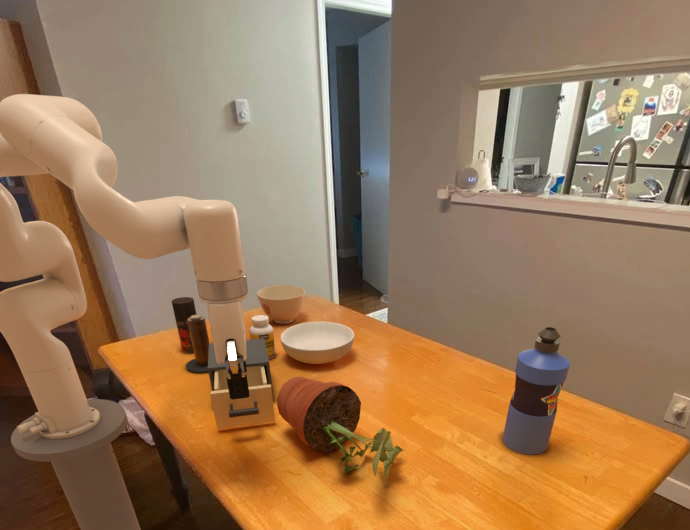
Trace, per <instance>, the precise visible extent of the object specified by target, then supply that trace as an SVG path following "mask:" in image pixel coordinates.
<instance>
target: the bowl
mask: <svg viewBox="0 0 690 530" xmlns="http://www.w3.org/2000/svg"><path fill="white" fill-rule="evenodd" d="M256 295H257V299H258V301H259V305H260V307H261V310H262V312H263V313H264V315H266V316H268V317H269V318H270V319H272V320H273V322H274V323H276V324H278V325H280V324H281V325H286V324H291V323H292V322H293V321H294V319H295V318H296V317H297V316H298V315H299V314H300V313H301V312H302V310H303V307H304V303H305V296H306V290H305V289H304V288H303V287H301V286H297V285H289V284H282V285H281V284H280V285H272V286H266V287H263V288H261V289H259V290H258V291H256Z"/></svg>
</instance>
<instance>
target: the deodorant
mask: <svg viewBox="0 0 690 530" xmlns="http://www.w3.org/2000/svg"><path fill="white" fill-rule="evenodd" d="M171 305H172V310H173V313H174V314H173V315H174V319H175V323H176V329H177V333H178V338H179V343H180V347H181V351H182V353H184V354H190V355H191V354H194V350H193V345H192V340H191V335H190V330H189V325H188V321H187V319H188V318H190V317H191V316H193V315H198V314H197V310H196V305H195V299H194V298H193V297H190V296H181V297H177V298H174V299H172V300H171Z"/></svg>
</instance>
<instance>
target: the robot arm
mask: <svg viewBox="0 0 690 530" xmlns="http://www.w3.org/2000/svg"><path fill="white" fill-rule="evenodd" d="M101 128H102V127H101V125H100V123H99V121H98V119H97V117H96V116H95V114H94V113H93V112H92V111H91V110H90V109H89V108H88V107H87V106H86V105H85V104H83V103H82V102H80V101H79V100H77V99H74V98H72V97H67V96H60V95H45V94H44V95H43V94H32V93H31V94H30V93H18V94H17V93H15V94H12V95H9V96H7V97H5V98H3V99H2V100H1V101H0V178H5V177H23V176H33V175H34V176H36V175H38V176H39V175H45V174H49V175H51V176H53V177H54V178H55V179H57V180H58V181H60V182H61V183H62V184H64V185H65V186H67V187H68V188H69V189H71V190H72V191H73V194H74V199H75V202H76V205H77V206H78V208H79V210H80V212H81V214H82V216H83V218H84V219H85V221H86V223H88V225H89V227H91V228H92V229H93V230H94V232H96V233H97V234H98V235H100V236H101V237H102V238H104V239H105V240H107V241H108V242H109V243H111V244H112V245H114V246H115V247H117V248H118V249H119V250H122V251H123V252H124V253H126V254H129V255H131V256H132V257H135V258H138V259H141V260H142V259H143V260H153V259H157V258H160V257H163V256H168V255H170V254H173V253H177V252H181V251H185V250H187V249H189V251H190V256H191V260H192V261H191V263H192V266H193V271H194V276H195V281H196V282H195V283H196V287H197V292H198V297H199V300H200V302H202V303H204V304H207V312H208V319H209V320H208V321H209V326H210V333H211V338H212V343H213V344H214V350H215V356H216V362H217V363H218V364H221V363H224V361H225V363H226V370H227V377H226V379H227V384H228V390H229V395H230V399H232V400H233V399H241V398H248V397H249V396H250V394H249V388H248V381H247V375H245V373H246V372H247V368H246V362H245V360H246V359H247V354H246V340H247V335H246V334H247V333H246V321H245V315H244V308H243V300H245V299H248V297H249V296H250V295H249V288H248V280H247V274H246V273H247V272H246V265H245V259H244V253H243V251H244V250H243V244H242V237H241V230H240V221H239V215H238V211H237V208H236V206H235V205H234V204H233V202H231V201H228V200H224V199H223V200H222V199H202V200H201V199H197V198H193V197H189V196H183V195H174V196H173V195H172V196H167V197H160V198H154V199H145V200H140V201H136V202H134V201H132V200H130V199H128V198H127V197H125V196H124V195H122V194H121V193H120V192H118V191H117V190H115V189H114V188H113V187H114V185H115V183H116V181H117V177H118V172H119V171H118V169H119V166H118V160H117V157H116V154H115V153H114V151H113V149H111V148H110V147H109V145H108V144H106V143H104V142H103V132H102V129H101ZM41 275H42V279H39V280H38V279H37V280H35V281H31V282H27V283H22V284H20V285H16V286H13V287H9V288H6V289H3V290H1V291H0V333H1V335H2V336H3V338H4V339H5V341H6V342H7V344H8V346H9V348H10V350H11V352H12V354H13V356H14V359H15V360H16V363H17V364H18V367H19V369H20V371H21V374H22V376H23V379H24V381H25V383H26V386H27V388H28V391H29V392H30V395H31V397H32V400H33V402H34V404H35V407H36V409H37V411H36V412H34V415H36V418H33V419H32V421H30V422H28V423H24V424H22V425H20V424H18V425H17V426H16V428H17V429H18V430H19V432H20V433H21V434H24V433H26V432H29V431H30V432H31V434H35V433H37V432H39V434H40V435H41V436H42V437H44V438H48V439H64V438H70V437H73V436H77V435H80V434H82V433H85V432H87V431H89V430H90V429H92V428H93V427H95V426H96V425H97V424H98V423H99V421H100V419H101V416H100V413H99V411H98V410H97V409H95V408H92V407H89V404H88V402H87V399H88V398H87V396H86V393H85V391H84V388H83V385H82V382H81V380H80V377H79V374H78V372H77V368H76V366H75V363H74V360H73V358H72V354H71V352H70V349H69V347H68V345H66V344H65V343H64V341H62V340H60V339H59V338H57V337H56V336H54V335H53V334H52V332H51V331H52V330H54V329H57V328H58V327H61V326H63V325H66V324H68V323H72V322H74V321H76V320H78V319H80V318H82V317H83V316H84V315H85V314H86V311H87V309H88V299H87V296H86V291H85V288H84V284H83V280H82V277H81V273H80V269H79V265H78V262H77V259H76V255H75V251H74V248H73V246H72V244H71V241H70V240H69V239H68V237H67V236H66V234H65V233H64V232H63V231H62V230H61V229H60V228H59V227H58V226H57V225H55V224H53V223H51V222H48V221H46V220H32V221H26V222H24V220H23V217H22V215H21V211H20V208H19V205H18V203H17V200H15V197H14V196H13V195H12V194H11V192H10V191H9V190H8V189H7V188H6V187H5V186H4V185H3V184H2V183H1V182H0V282H2V283H10V282H11V283H12V282H18V281H21V280H25V279H29V278H33V277H38V276H41Z"/></svg>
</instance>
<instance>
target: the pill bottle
mask: <svg viewBox="0 0 690 530" xmlns="http://www.w3.org/2000/svg"><path fill="white" fill-rule="evenodd" d="M269 318H270V317H269V316H267V315H266V314H258V315H253V316H252V317H251V324H252V325H251V326H250V327H249V336H250V340H252V339H263V338H264V340H265V345H266V349H267V354H268V358H269V360H271V359H273V358H274V357H275V356H276V346H275V335H274V334H275V333H274V328H273V326H272V325H271V324H269V323H270V320H269Z"/></svg>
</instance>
